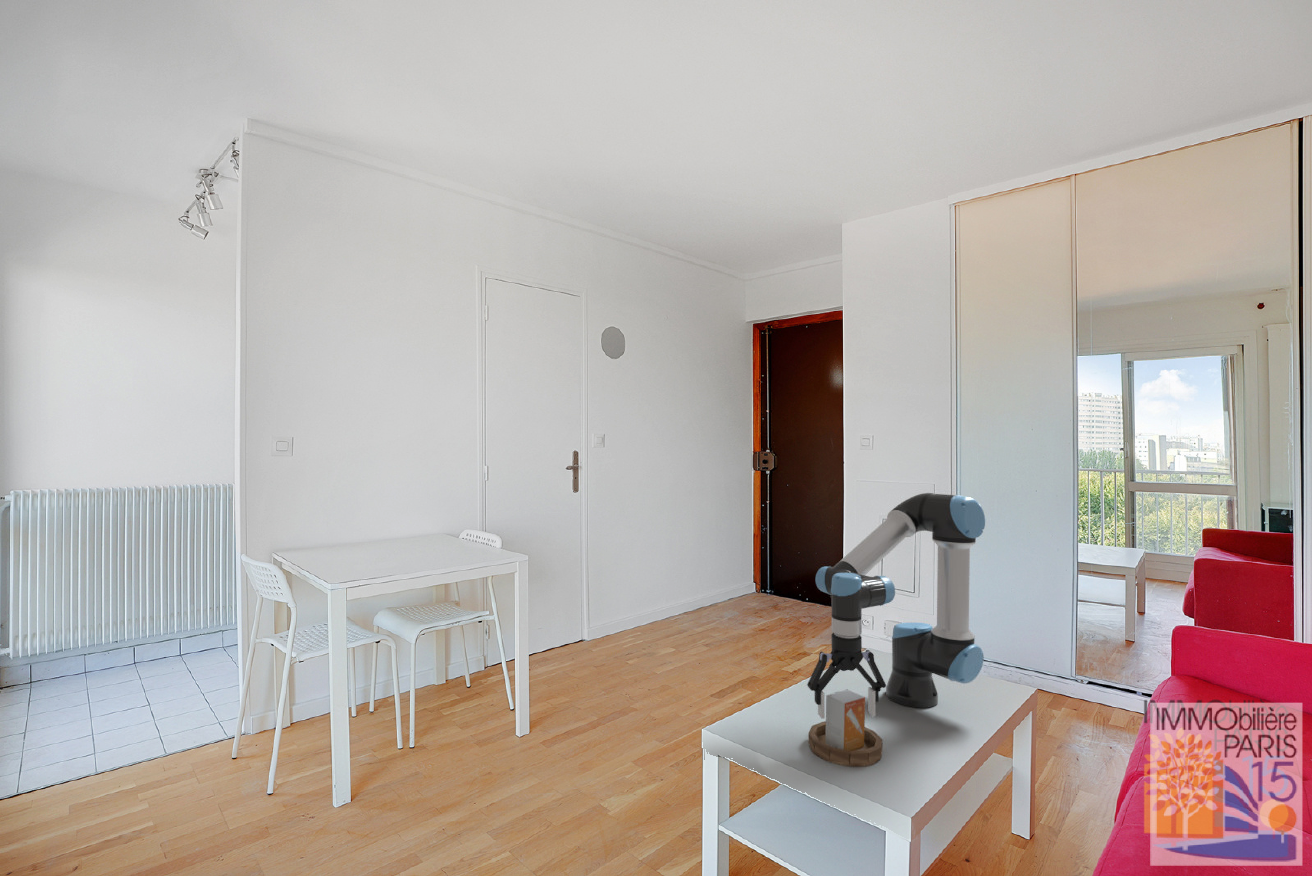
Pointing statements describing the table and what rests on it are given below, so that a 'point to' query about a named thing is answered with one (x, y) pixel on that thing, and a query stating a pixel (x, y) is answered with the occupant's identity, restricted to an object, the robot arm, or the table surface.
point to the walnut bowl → (844, 757)
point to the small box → (845, 720)
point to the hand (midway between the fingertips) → (846, 715)
